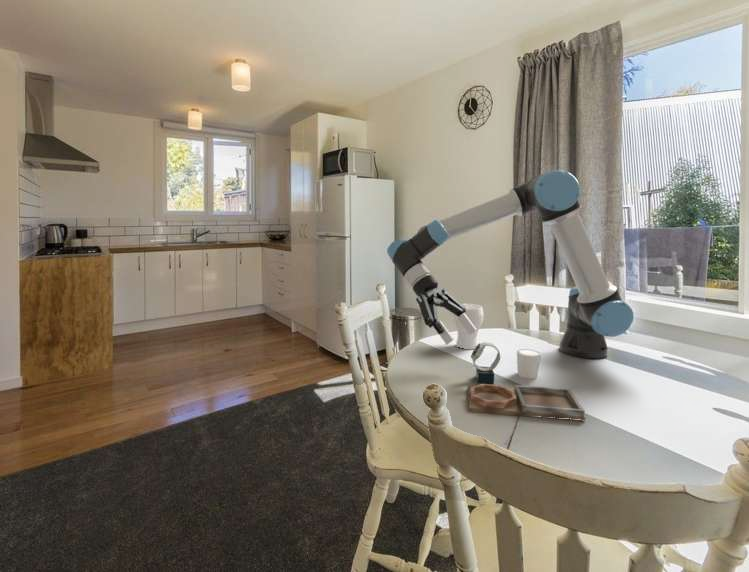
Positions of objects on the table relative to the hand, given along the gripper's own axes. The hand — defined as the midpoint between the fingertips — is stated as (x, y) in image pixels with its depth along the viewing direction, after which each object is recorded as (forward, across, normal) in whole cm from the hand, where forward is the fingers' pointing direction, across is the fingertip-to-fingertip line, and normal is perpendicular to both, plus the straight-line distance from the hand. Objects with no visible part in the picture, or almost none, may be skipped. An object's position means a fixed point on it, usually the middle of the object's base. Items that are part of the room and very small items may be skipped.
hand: (462, 337), depth 122 cm
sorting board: (+23, +8, +7) cm, 26 cm away
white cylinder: (+19, -13, +2) cm, 23 cm away
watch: (+14, -1, -3) cm, 14 cm away
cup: (0, -26, -17) cm, 31 cm away
